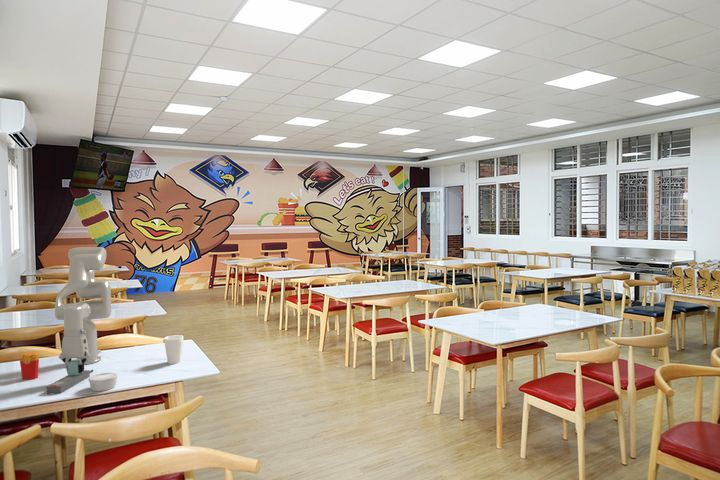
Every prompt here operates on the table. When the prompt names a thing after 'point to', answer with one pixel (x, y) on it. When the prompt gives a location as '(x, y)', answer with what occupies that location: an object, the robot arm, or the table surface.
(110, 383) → the ramekin
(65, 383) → the power strip
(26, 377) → the french fries
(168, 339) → the foam cup
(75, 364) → the block
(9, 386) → the table surface
